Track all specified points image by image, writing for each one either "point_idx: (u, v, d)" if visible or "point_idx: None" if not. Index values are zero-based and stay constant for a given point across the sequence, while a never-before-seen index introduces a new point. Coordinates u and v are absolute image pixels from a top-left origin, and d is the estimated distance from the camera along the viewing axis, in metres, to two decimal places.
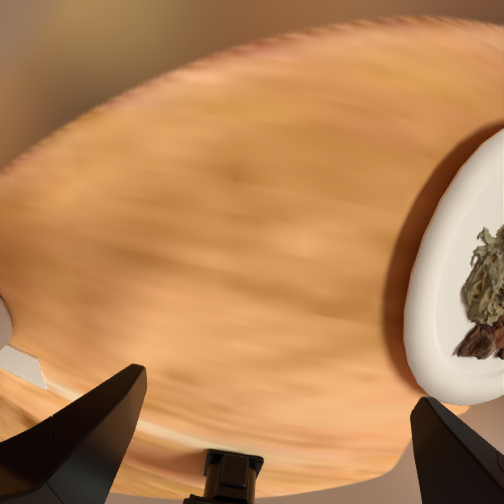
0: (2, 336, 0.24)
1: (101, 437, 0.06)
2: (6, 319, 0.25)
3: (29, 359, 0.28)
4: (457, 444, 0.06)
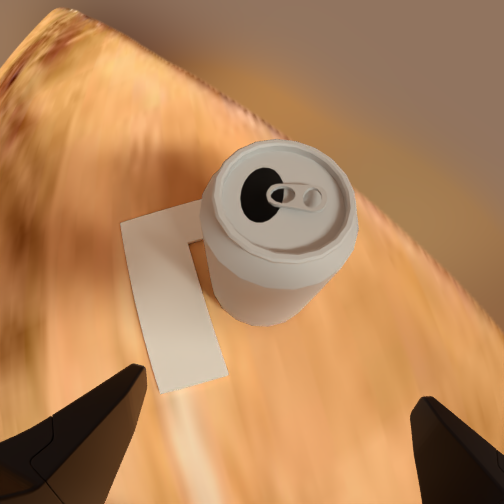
0: (278, 320, 0.20)
1: (101, 437, 0.06)
2: (292, 316, 0.22)
3: (214, 359, 0.21)
4: (457, 444, 0.06)
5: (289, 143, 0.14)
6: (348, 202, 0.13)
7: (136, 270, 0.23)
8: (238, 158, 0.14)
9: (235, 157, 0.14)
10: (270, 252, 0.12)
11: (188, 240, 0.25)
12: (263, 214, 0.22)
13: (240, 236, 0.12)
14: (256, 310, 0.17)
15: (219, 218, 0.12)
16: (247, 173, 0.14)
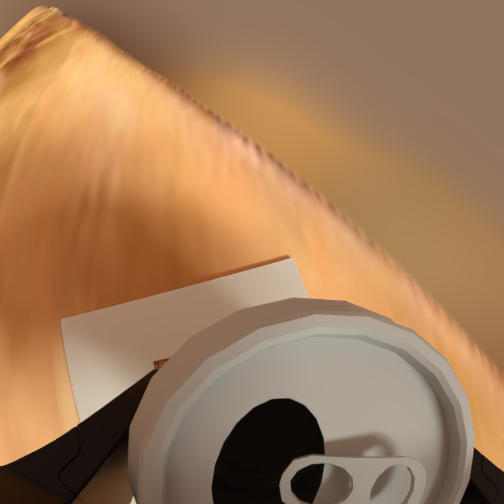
0: None
1: None
2: (304, 479, 0.12)
3: None
4: None
5: (351, 325, 0.05)
6: (460, 470, 0.04)
7: (83, 395, 0.14)
8: (204, 387, 0.05)
9: (195, 388, 0.04)
10: None
11: (154, 358, 0.15)
12: None
13: None
14: None
15: None
16: (230, 421, 0.05)
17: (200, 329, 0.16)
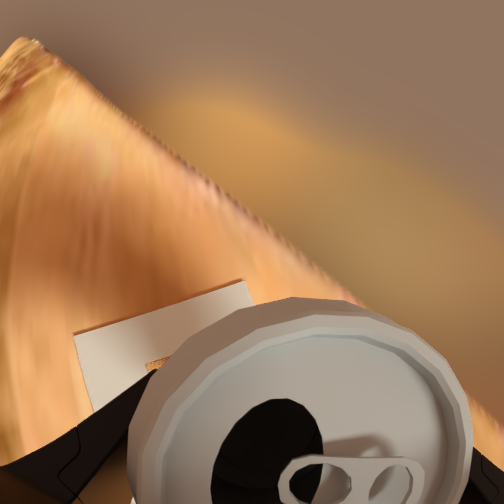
0: None
1: None
2: (304, 478, 0.12)
3: None
4: None
5: (350, 326, 0.05)
6: (459, 470, 0.04)
7: (95, 391, 0.20)
8: (203, 388, 0.05)
9: (193, 388, 0.04)
10: None
11: (145, 361, 0.21)
12: None
13: None
14: None
15: None
16: (229, 420, 0.05)
17: (177, 338, 0.22)
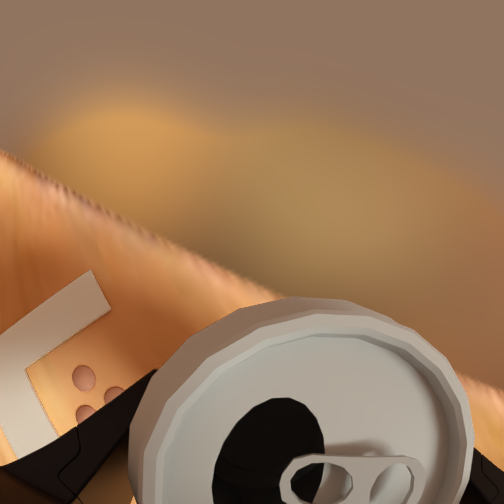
0: None
1: (128, 446, 0.06)
2: (305, 478, 0.12)
3: None
4: None
5: (351, 325, 0.05)
6: (460, 469, 0.04)
7: None
8: (204, 387, 0.05)
9: (195, 387, 0.04)
10: None
11: (23, 366, 0.18)
12: None
13: None
14: None
15: None
16: (230, 420, 0.05)
17: (42, 339, 0.19)
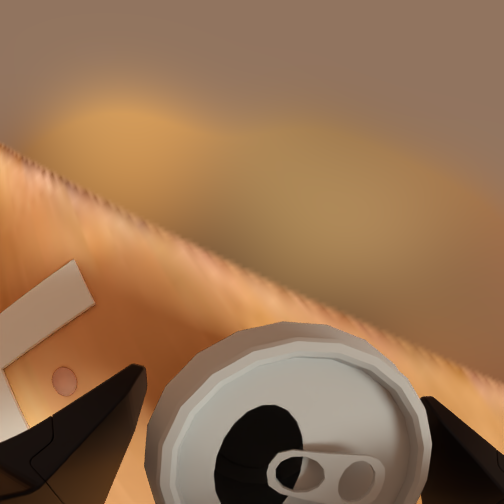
0: (276, 492, 0.12)
1: (101, 437, 0.06)
2: (296, 475, 0.14)
3: None
4: (457, 444, 0.06)
5: (326, 350, 0.06)
6: (418, 470, 0.05)
7: None
8: (210, 396, 0.06)
9: (203, 396, 0.06)
10: None
11: (1, 366, 0.15)
12: None
13: None
14: None
15: None
16: (230, 421, 0.06)
17: (21, 336, 0.16)
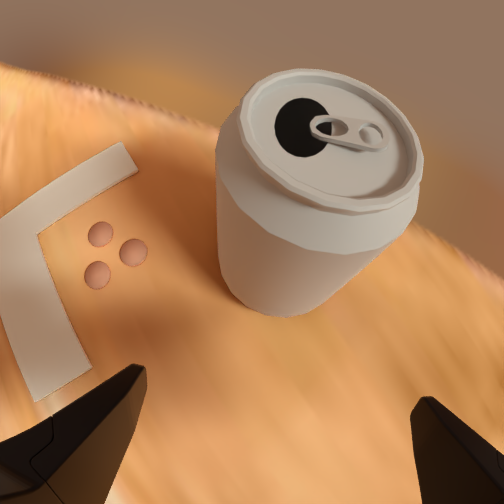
0: (300, 309, 0.16)
1: (101, 437, 0.06)
2: (316, 306, 0.18)
3: (73, 352, 0.16)
4: (457, 444, 0.06)
5: (336, 75, 0.10)
6: (413, 147, 0.09)
7: None
8: (272, 82, 0.10)
9: (269, 80, 0.10)
10: (319, 192, 0.08)
11: (35, 230, 0.19)
12: None
13: (276, 167, 0.08)
14: (279, 291, 0.13)
15: (246, 143, 0.08)
16: (283, 101, 0.10)
17: (62, 201, 0.20)
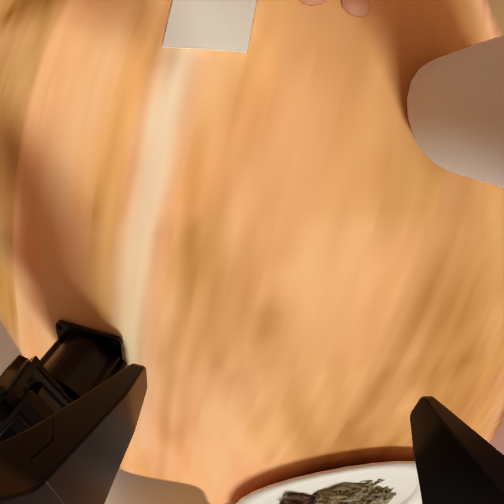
0: (442, 160, 0.15)
1: (101, 437, 0.06)
2: (447, 169, 0.16)
3: (239, 31, 0.15)
4: (457, 444, 0.06)
5: None
6: None
7: None
8: None
9: None
10: None
11: None
12: None
13: None
14: (456, 139, 0.11)
15: None
16: None
17: None
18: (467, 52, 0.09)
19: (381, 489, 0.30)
